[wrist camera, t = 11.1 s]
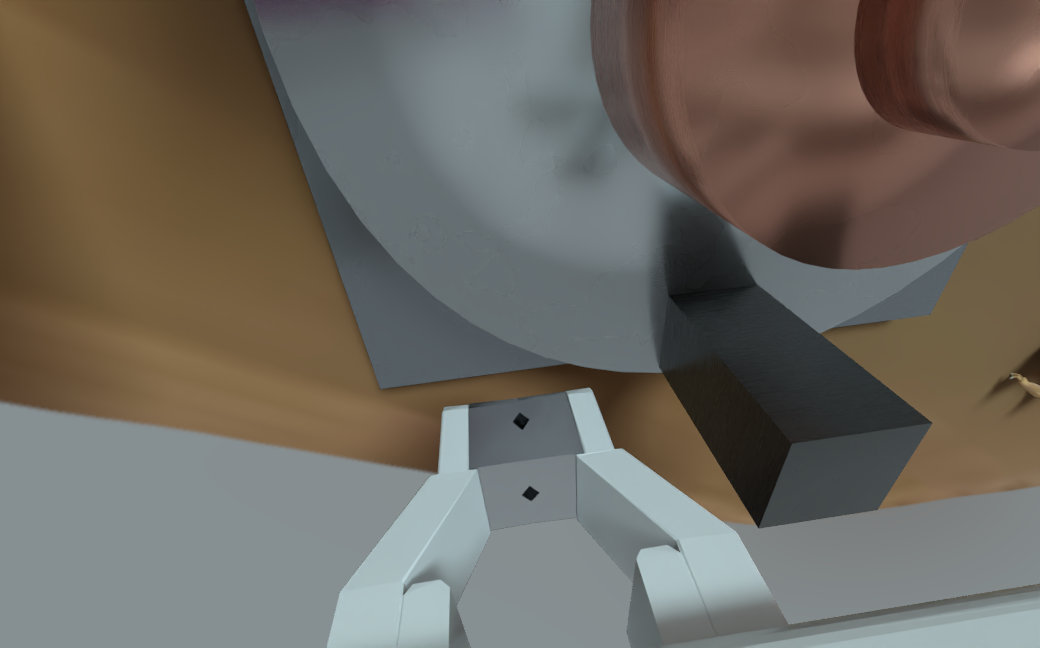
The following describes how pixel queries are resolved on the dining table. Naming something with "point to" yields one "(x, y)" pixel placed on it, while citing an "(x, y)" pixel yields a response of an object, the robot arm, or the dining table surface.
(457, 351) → the plinth
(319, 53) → the turntable
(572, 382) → the dining table surface
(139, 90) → the dining table surface
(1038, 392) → the rabbit figure
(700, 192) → the cover
